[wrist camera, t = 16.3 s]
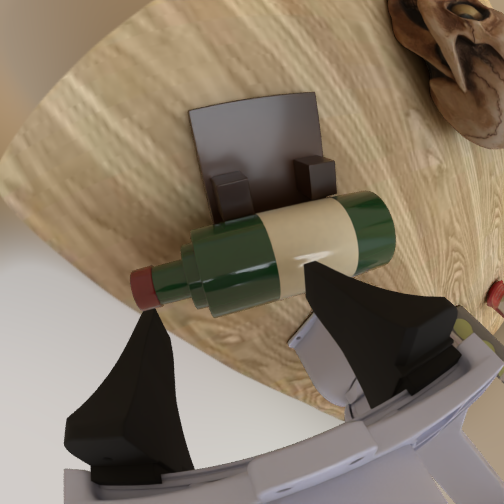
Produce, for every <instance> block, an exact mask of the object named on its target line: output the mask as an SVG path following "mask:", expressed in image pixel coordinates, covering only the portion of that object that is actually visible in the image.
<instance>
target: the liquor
mask: <svg viewBox="0 0 504 504" xmlns="http://www.w3.org/2000/svg"><path fill="white" fill-rule="evenodd" d="M487 306H490V307H492V308H493V309H494V310H496V311H497V312H498V313H499V314H500V315H501V316H502V317H503V318H504V283H503V281H502V280H501V281H498V282H495V283H494V284H493V285H492V287H491V288H490V290H489V292H488V294H487Z"/></svg>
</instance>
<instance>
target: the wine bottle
mask: <svg viewBox="0 0 504 504" xmlns="http://www.w3.org/2000/svg"><path fill="white" fill-rule="evenodd" d="M190 234H191V241H192V243H189V244H185V245H182V246H181V249H180V251H181V259H180V260H176V261H173V262H169V263H165V264H161V265H158V266H152V265H151V266H147V267H144V268H140V269H136V270H133V271H132V272H131V275H130V284H131V290H132V294H133V297H134V300H135V302H136V304H137V306H138V307H139V309H140V310H141V311H146V310H149V309H153V308H159V307H163V306H164V304H168V303H172V302H176V301H180V300H184V299H188V298H192V300H193V302H194V305H195V307H196V308H197V309H203V308H207V307H209V309H210V312H211V314H212V316H213V318H218V317H222V316H226V315H229V314H233V313H237V312H240V311H244V310H248V309H251V308H255V307H258V306H262V305H265V304H269V303H272V302H275V301H280V300H284V299H287V298H290V297H294V296H297V295H300V294H303V293H306V292H305V278H304V264H306V263H309V262H312V261H317V262H319V263H322V264H324V265H326V266H328V267H330V268H332V269H334V270H336V271H338V272H340V273H343V274H345V275H347V276H349V277H354V276H357V275H360V274H362V273H365V272H368V271H371V270H374V269H377V268H379V267H382V266H385V265H386V264H388V263H389V262H390V260H391V259H392V257H393V254H394V251H395V245H396V235H395V227H394V223H393V220H392V217H391V214H390V212H389V210H388V208H387V206H386V205H385V203H384V202H383V201H382V199H381V198H380V197H379V196H377V195H376V194H375V193H373V192H371V191H359V192H354V193H349V194H344V195H339V196H334V197H327V198H322V199H318V200H313V201H308V202H304V203H299V204H294V205H290V206H286V207H281V208H277V209H272V210H268V211H264V212H259V213H256V214H253V215H249V216H245V217H241V218H236V219H232V220H228V221H224V222H220V223H216V224H212V225H208V226H204V227H200V228H197V229H193V230H191V232H190Z"/></svg>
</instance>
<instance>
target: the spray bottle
mask: <svg viewBox="0 0 504 504" xmlns="http://www.w3.org/2000/svg"><path fill="white" fill-rule="evenodd" d="M456 308H457V310H458V315H457V319H456V322H455V325H454V327H453V330H452V331H453V332H454V333H455V334H456V335H457V336H458V337H459V338H460V339H461V340H462V341H464V340H465V339H466V338H467V337H468V336H470V335H471V334H472V333H475V334H476V335H477V336H478V337H479V338H480V339H481V340H482V341H483V342H484V343H485V344H486V345H487V346H488V347H489V348H490V349H491V350H492V351H493V352H494V353H495V354H496V355H497V356H498V357H499V358H500V359H501V360H502V361H503V362H504V346H503V345H502V344H501V343H500V342H499V341H498V340H497V339H496V338H495V337H494V336H493V335H492V334H491V333H490V332H489V331H488V330H487V329H486V328H485V327H484V326H483V325H482V324H481V323H480V322H479V321H478V320H476V319H475V318H474V317H473V316H472V315H471V314H470V313H469V312H468V311H467V310H466V309H464V308H463V307H462V306H458V307H456ZM497 377H498V378H499V379H501V381H502V382H503V383H504V366H503V367H502V369H501V370H500V372H499V373H498V374H497Z"/></svg>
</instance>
